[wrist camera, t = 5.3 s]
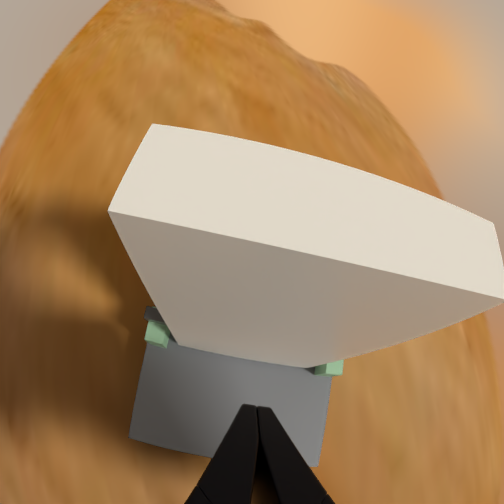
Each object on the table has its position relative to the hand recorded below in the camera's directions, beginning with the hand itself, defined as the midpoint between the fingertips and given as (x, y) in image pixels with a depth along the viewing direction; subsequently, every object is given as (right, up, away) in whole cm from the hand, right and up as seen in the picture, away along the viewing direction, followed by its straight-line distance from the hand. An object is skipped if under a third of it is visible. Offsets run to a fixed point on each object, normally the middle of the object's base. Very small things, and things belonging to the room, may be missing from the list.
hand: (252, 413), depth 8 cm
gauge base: (-1, -1, +7) cm, 7 cm away
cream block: (0, +1, +6) cm, 6 cm away
